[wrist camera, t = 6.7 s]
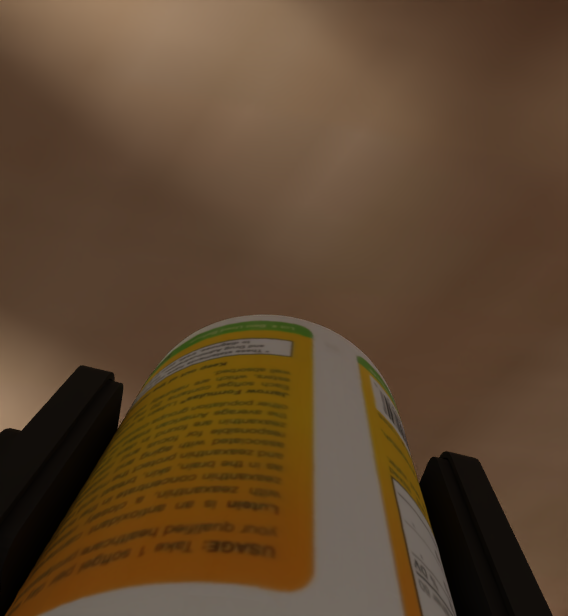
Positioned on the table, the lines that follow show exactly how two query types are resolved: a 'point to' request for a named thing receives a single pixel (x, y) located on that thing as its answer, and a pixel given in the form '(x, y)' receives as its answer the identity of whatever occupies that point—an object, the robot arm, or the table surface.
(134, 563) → the supplement bottle
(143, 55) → the table surface
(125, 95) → the table surface
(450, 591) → the robot arm
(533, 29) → the table surface
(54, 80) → the table surface
